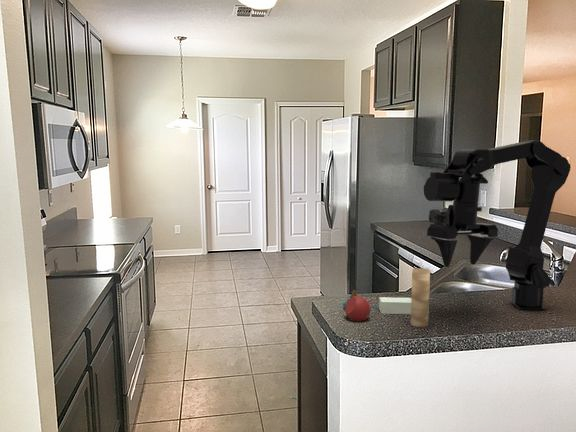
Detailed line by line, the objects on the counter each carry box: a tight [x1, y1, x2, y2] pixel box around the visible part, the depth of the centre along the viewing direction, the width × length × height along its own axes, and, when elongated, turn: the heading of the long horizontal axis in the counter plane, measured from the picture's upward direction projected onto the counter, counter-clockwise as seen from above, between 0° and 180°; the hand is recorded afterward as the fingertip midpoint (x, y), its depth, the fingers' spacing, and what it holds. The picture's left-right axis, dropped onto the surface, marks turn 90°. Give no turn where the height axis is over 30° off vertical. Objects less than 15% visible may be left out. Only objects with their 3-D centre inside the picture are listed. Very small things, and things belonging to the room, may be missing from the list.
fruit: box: [344, 295, 379, 322], centre depth 119 cm, size 6×6×8 cm
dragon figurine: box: [342, 289, 379, 309], centre depth 127 cm, size 6×7×8 cm
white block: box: [378, 296, 411, 315], centre depth 124 cm, size 8×4×3 cm, turn 87°
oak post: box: [410, 267, 431, 328], centre depth 115 cm, size 4×4×13 cm
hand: (459, 265), depth 120 cm, fingers open, 9 cm apart
